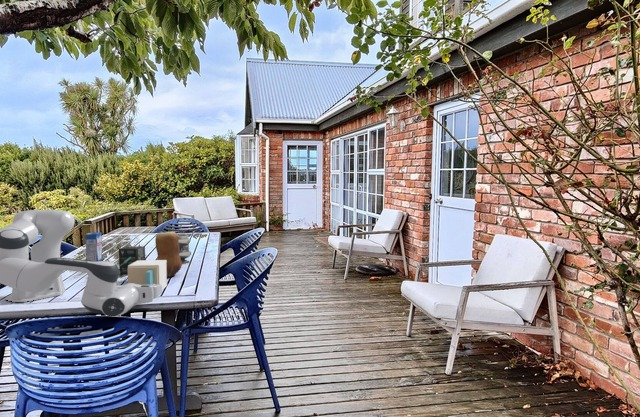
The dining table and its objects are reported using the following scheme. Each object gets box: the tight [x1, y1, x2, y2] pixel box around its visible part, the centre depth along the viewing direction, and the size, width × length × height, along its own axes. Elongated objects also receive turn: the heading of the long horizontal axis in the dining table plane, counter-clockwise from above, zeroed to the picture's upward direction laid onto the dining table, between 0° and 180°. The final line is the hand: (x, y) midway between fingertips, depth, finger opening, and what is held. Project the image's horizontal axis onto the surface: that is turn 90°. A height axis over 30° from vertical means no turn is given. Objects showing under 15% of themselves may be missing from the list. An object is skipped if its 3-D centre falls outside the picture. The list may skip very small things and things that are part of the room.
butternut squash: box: [154, 230, 183, 278], centre depth 213 cm, size 14×13×25 cm
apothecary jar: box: [177, 234, 192, 265], centre depth 250 cm, size 12×12×18 cm
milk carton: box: [84, 231, 103, 261], centre depth 244 cm, size 10×6×20 cm, turn 13°
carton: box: [128, 259, 168, 291], centre depth 188 cm, size 12×14×13 cm
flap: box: [127, 267, 158, 285], centre depth 178 cm, size 6×13×11 cm, turn 96°
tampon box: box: [118, 245, 146, 275], centre depth 224 cm, size 11×9×15 cm
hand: (142, 285), depth 168 cm, fingers open, 8 cm apart
